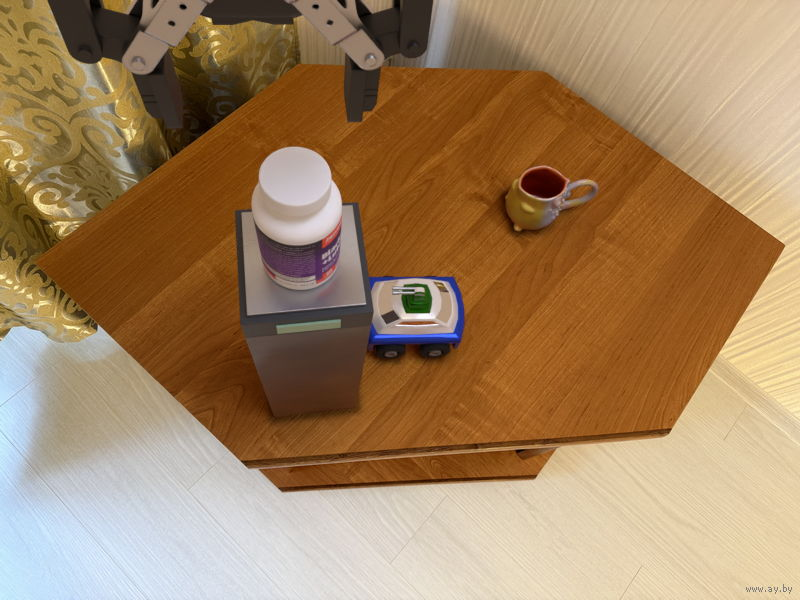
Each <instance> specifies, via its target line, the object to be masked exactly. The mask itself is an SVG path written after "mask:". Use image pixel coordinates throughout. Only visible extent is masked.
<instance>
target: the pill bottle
mask: <svg viewBox="0 0 800 600" xmlns="http://www.w3.org/2000/svg"><path fill="white" fill-rule="evenodd" d="M342 203H343V199H342V194H341V192H340V189H339V188H338V186H337V184H336V183H335V182H334V180H333V179H332V171H331V167H330V166H329V164H328V162H327V161H326V160H325V158H324V157H323V156H322V155H320V154H319V153H318V152H316V151H314V150H312V149H310V148H306V147H302V146H285V147H282V148H279V149H277V150H275V151H273V152H271V153H270V154H269V155H268V156H267V157H266V158H265V159H264V160H263V161H262V163H261V165H260V168H259V169H258V181H257V184H256V185H255V187H254V189H253V192H252V195H251V204H250V205H251V209H252V215H253V220H254V224H255V229H256V234H257V239H258V244H259V249H260V254H261V259H262V262H263V265H264V268H265V270H266V272H267V273H268V275H269V276H270V277H271V278H272V279H273V280H274V281H275V282H276V283H278V284H280V285H281V286H284V287H286V288H290V289H295V290H306V289H311V288H315V287H317V286H319V285H321V284H323V283H324V282H326V281H327V280H328V279H329V278H330V277H331V276H332V275H333V274H334V272H335V271H336V268H337V266H338V263H339V258H340V244H341V225H342Z"/></svg>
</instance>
